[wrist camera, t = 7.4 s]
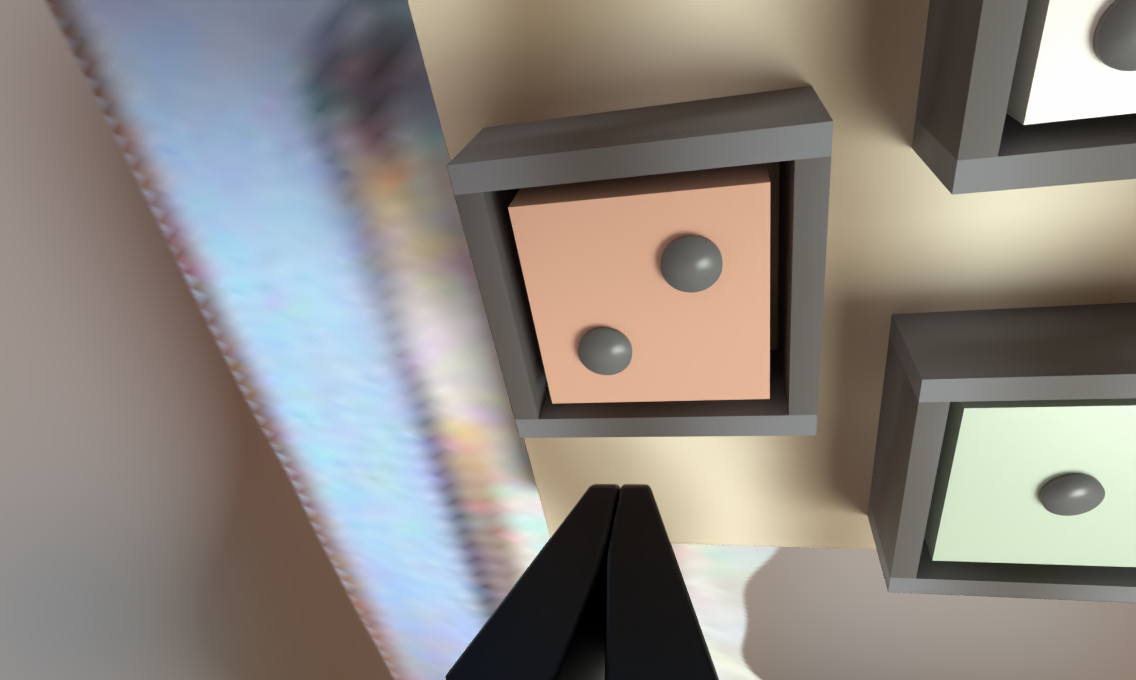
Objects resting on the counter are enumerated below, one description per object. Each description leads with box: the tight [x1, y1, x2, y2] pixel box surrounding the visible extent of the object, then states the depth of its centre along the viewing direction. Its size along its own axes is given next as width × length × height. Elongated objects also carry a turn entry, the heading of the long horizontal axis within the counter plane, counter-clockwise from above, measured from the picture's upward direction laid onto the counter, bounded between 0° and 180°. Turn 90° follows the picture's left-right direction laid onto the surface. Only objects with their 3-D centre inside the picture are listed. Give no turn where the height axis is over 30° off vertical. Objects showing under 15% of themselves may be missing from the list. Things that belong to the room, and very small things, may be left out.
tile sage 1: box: [924, 398, 1136, 567], centre depth 15 cm, size 5×5×2 cm
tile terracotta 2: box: [508, 163, 770, 404], centre depth 14 cm, size 5×5×2 cm
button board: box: [408, 0, 1136, 603], centre depth 14 cm, size 18×21×5 cm
